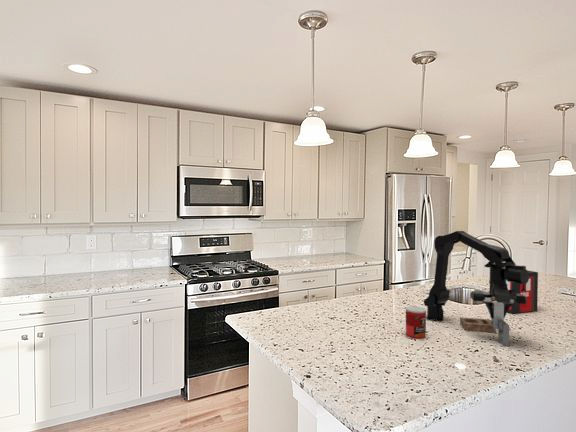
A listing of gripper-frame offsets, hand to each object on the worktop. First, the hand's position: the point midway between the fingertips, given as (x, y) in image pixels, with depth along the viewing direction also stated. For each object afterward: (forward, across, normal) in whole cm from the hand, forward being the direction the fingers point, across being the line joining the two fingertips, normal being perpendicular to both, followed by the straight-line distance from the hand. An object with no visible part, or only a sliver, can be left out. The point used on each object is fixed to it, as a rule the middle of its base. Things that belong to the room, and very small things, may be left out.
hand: (497, 318), depth 143 cm
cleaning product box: (+8, +23, +47) cm, 53 cm away
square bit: (+4, 0, 0) cm, 4 cm away
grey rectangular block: (+8, +1, -5) cm, 10 cm away
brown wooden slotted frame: (+8, -4, +12) cm, 15 cm away
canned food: (+8, -31, -4) cm, 32 cm away
